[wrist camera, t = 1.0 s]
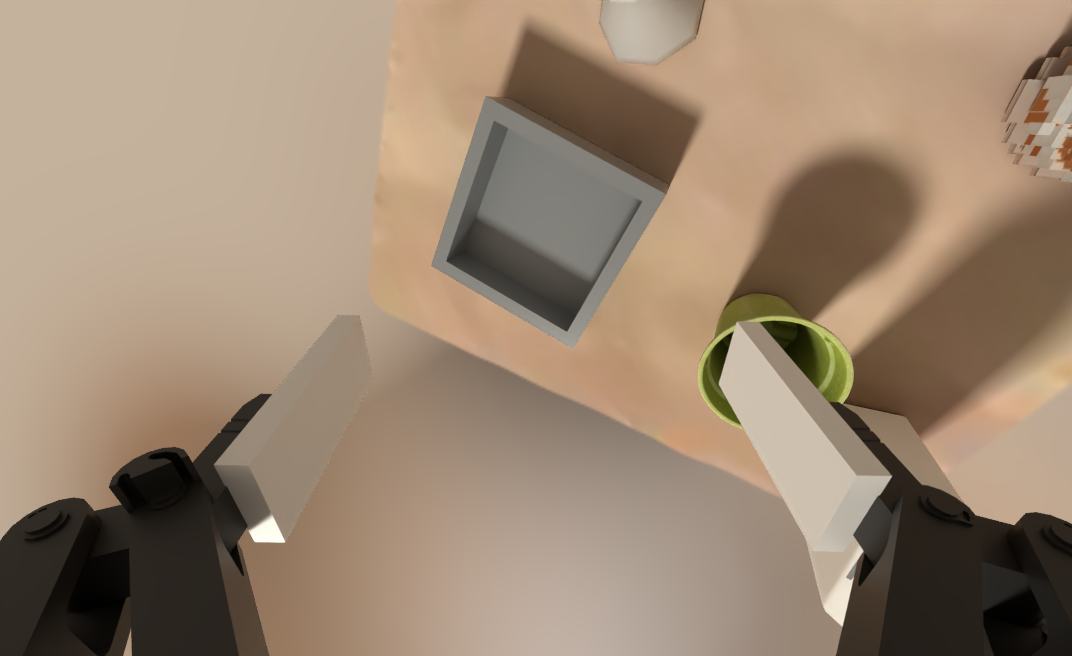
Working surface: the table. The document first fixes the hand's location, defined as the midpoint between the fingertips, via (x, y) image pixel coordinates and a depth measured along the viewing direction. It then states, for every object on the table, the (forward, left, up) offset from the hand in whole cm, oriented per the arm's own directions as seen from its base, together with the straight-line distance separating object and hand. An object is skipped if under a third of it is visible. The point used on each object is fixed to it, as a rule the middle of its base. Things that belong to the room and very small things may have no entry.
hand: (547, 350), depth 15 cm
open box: (+4, -6, -24) cm, 26 cm away
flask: (-13, -6, -25) cm, 28 cm away
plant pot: (+3, +14, -25) cm, 28 cm away
